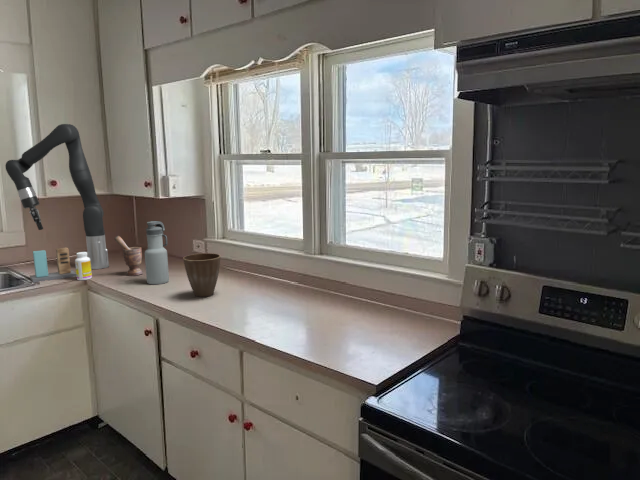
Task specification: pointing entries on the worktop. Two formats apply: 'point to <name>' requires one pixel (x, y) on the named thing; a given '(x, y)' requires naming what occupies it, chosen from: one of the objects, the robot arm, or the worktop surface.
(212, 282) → the plant pot
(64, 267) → the tan tall block
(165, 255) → the water bottle
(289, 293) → the worktop surface
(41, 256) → the teal rectangular block
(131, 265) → the mortar and pestle
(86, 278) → the supplement bottle
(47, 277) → the key base
